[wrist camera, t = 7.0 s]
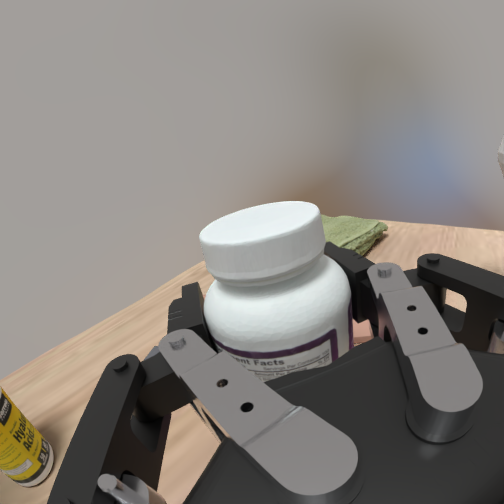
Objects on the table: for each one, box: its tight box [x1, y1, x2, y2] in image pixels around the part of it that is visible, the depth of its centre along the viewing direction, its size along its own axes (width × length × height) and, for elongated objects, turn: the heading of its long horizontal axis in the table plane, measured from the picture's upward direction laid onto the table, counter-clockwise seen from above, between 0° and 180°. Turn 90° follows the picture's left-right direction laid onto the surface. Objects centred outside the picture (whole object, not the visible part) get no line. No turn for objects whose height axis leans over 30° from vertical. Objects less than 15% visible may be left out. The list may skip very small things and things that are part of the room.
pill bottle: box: [199, 201, 354, 382], centre depth 11 cm, size 5×5×10 cm
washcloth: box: [321, 215, 388, 256], centre depth 35 cm, size 13×18×3 cm
